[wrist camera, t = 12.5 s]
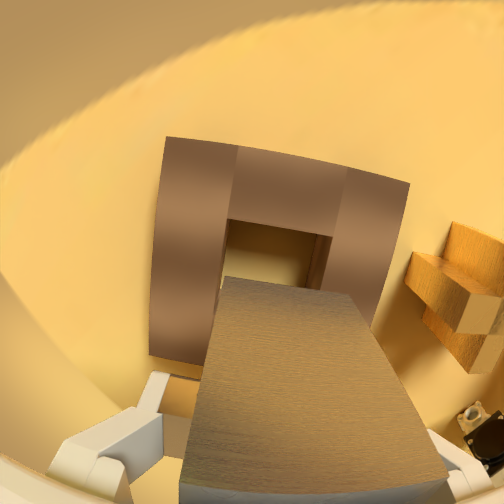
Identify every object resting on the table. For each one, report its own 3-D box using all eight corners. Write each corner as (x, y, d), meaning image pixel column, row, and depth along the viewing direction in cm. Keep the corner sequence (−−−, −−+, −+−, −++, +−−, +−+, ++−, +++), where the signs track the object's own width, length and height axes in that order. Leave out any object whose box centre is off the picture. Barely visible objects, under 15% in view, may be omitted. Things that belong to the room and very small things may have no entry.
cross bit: (466, 323, 24) (513, 370, 16) (392, 316, 24) (435, 375, 16) (496, 234, 22) (558, 263, 14) (422, 213, 21) (487, 241, 14)
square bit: (317, 388, 13) (354, 559, 5) (211, 376, 12) (179, 557, 5) (348, 294, 11) (449, 476, 4) (224, 275, 11) (179, 482, 3)
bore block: (337, 352, 25) (348, 382, 21) (163, 326, 24) (148, 354, 20) (384, 178, 21) (410, 183, 17) (182, 139, 20) (166, 136, 16)
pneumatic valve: (462, 442, 29) (496, 505, 18) (443, 404, 27) (489, 483, 15) (494, 417, 28) (534, 475, 17) (482, 373, 26) (538, 443, 14)
